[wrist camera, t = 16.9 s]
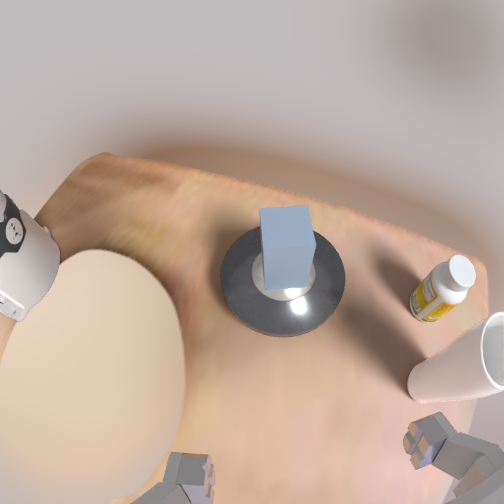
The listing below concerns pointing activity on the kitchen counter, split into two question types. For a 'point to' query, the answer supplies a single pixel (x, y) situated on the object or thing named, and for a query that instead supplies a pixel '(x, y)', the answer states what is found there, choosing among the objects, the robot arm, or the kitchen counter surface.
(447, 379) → the drinking glass
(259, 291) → the stand
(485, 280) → the kitchen counter surface
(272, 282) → the block
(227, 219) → the kitchen counter surface
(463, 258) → the supplement bottle
